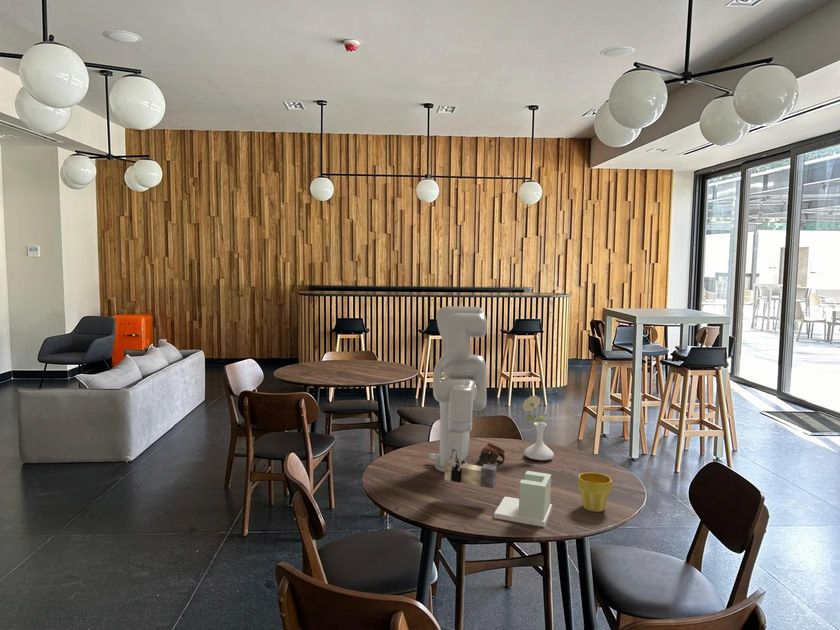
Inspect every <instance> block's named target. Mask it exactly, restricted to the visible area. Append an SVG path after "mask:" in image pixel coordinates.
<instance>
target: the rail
mask: <svg viewBox="0 0 840 630" xmlns="http://www.w3.org/2000/svg"><path fill="white" fill-rule="evenodd" d="M456 464H457V465H458V463H456ZM460 470H461V482H460V483H461V484H465V485H467V484H468V485H473V486H478V487H484V488H489V489H494V487H495V486H496V484H497V465H495V464H489V463H488V464H483V465H482V466H481V465H475V464H470V463H468V464H464V463H461V469H460ZM444 481H451V461H448V462H447V463H446V464H445V472H444ZM451 482H452V481H451Z"/></svg>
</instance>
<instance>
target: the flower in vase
mask: <svg viewBox="0 0 840 630" xmlns="http://www.w3.org/2000/svg"><path fill="white" fill-rule="evenodd" d="M540 402H541V397H538V396H537V395H533V396H532V395H530V396H529V397H528V398H526V400H523V403H522V405H521V407H522V410H524V411H526V412H530V411H533V414H534V416H533V415H528V416H527V417H526V418H525V419H524V420H525V421H529V422H531V421H533V420H534V419H535V420H536V421H537V422H536V421H534V422H533V425H534V426H535V428H536V441H535V442H534V443H533V444H532V445H530V446H528V447H527V448H525V450H524V451H523V452H524V455H525V456H526V457H527V458H529V459H531V460H537V461H549V460H551V459H553V458H554V456H555V454H554V452H553V451H552V450H551V449H550V448H549V447H548V446H547V445H546V444H545V443H544V441H543V437H544V430H545V428H546V426H547V423H546V422H541V421H544V420H545V419H546V417H547V414H542V415H540V416H539V417H537V416H536V411H535V410H536V409H537V407H539V405H541V403H540Z"/></svg>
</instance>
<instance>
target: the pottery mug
mask: <svg viewBox="0 0 840 630" xmlns="http://www.w3.org/2000/svg"><path fill="white" fill-rule="evenodd" d="M505 453H506V451H505V449H503V448H501V447H500V446H498V445H495V444H493V443H490V442H488V443H487V445H485V446H483V448H482V449H481V452H480V455H479V456H478V462H479V463H480V464H483V465H484V464H488V465H495V464H496V462H497V459H498V458H499V456H500V458H501V462H502V463H504V462H505V459H506V456H505Z"/></svg>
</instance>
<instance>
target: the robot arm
mask: <svg viewBox="0 0 840 630" xmlns="http://www.w3.org/2000/svg"><path fill="white" fill-rule="evenodd" d="M436 324H437V328H438V332H439V334H440V338H441V342H442V356H441V357H440V358H439V359H438V361H437V362H436V364H435V366H434V369H433V374H432V391H433V392H432V394H433V397H434V399H435V400H436V401H437V402H438V403H439V412H440V414H439V415H440V416H439V417H440V419H439V420H440V424H439V426H440V427H439V453H429V454H428V458H429V460H430V461H434V462H435V463H434V467H435V469H436V470H437V471H439V472H442V473H445V464H446V463H447V462H448V461H451V482H454V483H460V482H461V470H460V469H461V463H464V464H469V463H468V462H466V461H467V460H466V459H467V456H468V454H469V453H470V435H471V434H470V432H471V431H472V429H473V411H480V410H481V411H482V410H484V409H485V408H486V405H487V397H488V396H487V393H488V392H487V365H486V364H487V363H486V361H485V358H484V357H483V356H482V355H479V354H472V353H471V352H472V349H471V348H472V347H471V338H483V337H485V336H486V334H487V331H488V320H487V317H486V314H485V312H484V310H483V308H482V307H479V306H460V305H458V306H457V305H456V306H455V305H453V306H449V305H448V306H443V307H440V308H438V309H437V312H436ZM442 373H443V377H445V378H443V377H442ZM456 463H458V465H457V464H456Z"/></svg>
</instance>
